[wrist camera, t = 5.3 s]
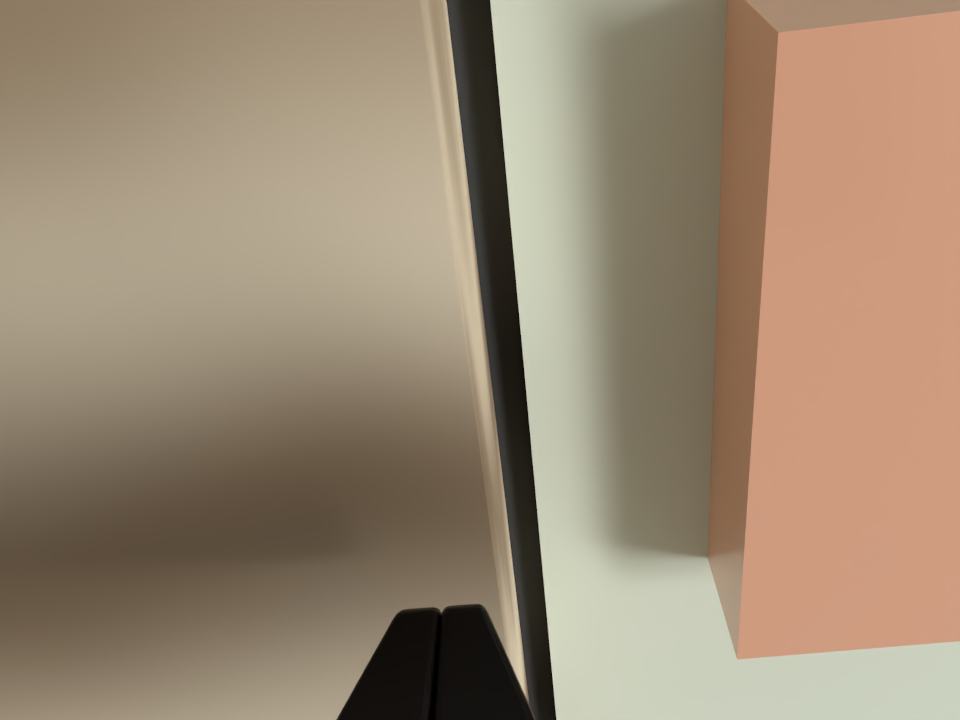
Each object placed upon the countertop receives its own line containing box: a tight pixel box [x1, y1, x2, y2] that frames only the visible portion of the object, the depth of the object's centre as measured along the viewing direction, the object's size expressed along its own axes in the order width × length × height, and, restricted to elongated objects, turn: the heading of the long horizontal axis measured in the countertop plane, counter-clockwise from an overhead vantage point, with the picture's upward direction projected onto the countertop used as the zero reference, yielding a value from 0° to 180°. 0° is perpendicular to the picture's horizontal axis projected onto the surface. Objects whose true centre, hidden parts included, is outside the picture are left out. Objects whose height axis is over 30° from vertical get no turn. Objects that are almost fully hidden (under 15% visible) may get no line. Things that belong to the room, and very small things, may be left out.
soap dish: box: [0, 0, 529, 720], centre depth 12 cm, size 20×12×4 cm, turn 6°
